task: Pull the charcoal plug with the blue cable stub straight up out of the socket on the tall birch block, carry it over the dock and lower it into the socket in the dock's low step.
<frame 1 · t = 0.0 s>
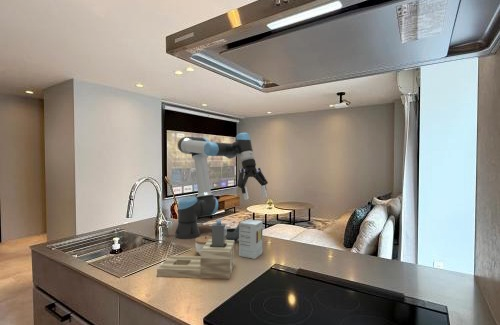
hand: (256, 198, 136), 28 cm above the worktop, tool tilted 20°, fingers open, 13 cm apart
plug: (218, 252, 111), point 8 cm above the worktop, touching dock
supplement box: (250, 255, 130), on the worktop
lidded jar: (205, 254, 131), on the worktop
dock: (197, 269, 112), on the worktop
mortar and pestle: (233, 242, 150), on the worktop
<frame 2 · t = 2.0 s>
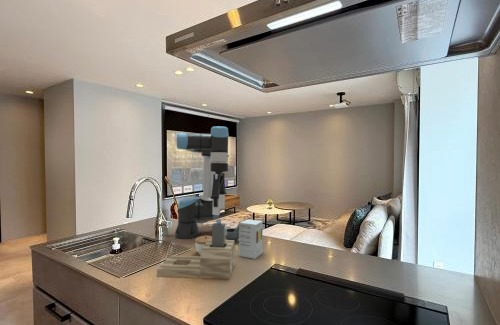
hand: (218, 211, 111), 26 cm above the worktop, tool pointing down, fingers open, 13 cm apart
nothing on the worktop moved.
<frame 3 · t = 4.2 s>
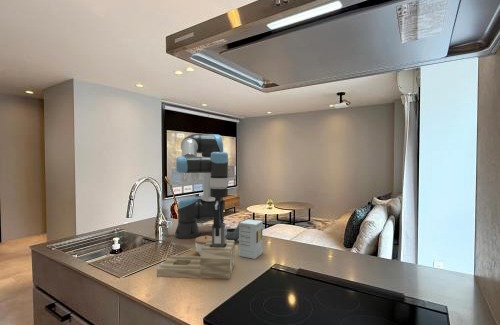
hand: (218, 241, 111), 13 cm above the worktop, tool pointing down, fingers closed on plug, 4 cm apart
plug: (218, 252, 111), point 8 cm above the worktop, touching dock, gripper
everything else where it was.
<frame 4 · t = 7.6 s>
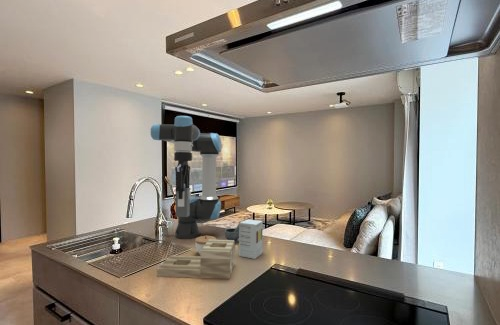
hand: (182, 205, 112), 28 cm above the worktop, tool pointing down, fingers closed on plug, 4 cm apart
plug: (182, 215, 112), point 23 cm above the worktop, touching gripper
everything else where it was.
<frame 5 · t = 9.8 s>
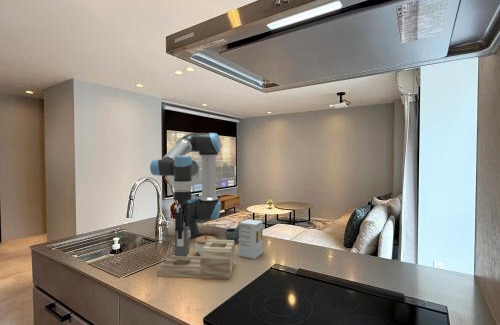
hand: (182, 244, 112), 11 cm above the worktop, tool pointing down, fingers closed on plug, 4 cm apart
plug: (182, 254, 112), point 6 cm above the worktop, touching gripper
everything else where it was.
when the fingers open (6 cm above the worktop, at t = 11.4 s): plug drops 1 cm, resting in dock.
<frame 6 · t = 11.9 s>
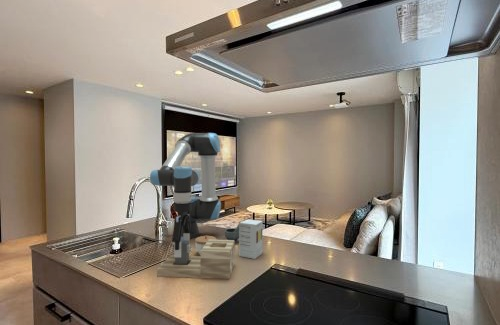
hand: (182, 252, 112), 7 cm above the worktop, tool pointing down, fingers open, 11 cm apart
plug: (182, 269, 112), resting in dock
everything else where it was.
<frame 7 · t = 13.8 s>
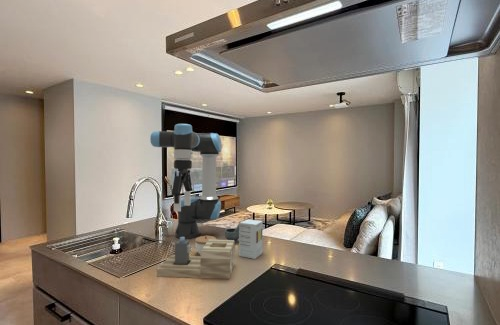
hand: (182, 208, 112), 27 cm above the worktop, tool pointing down, fingers open, 13 cm apart
nothing on the worktop moved.
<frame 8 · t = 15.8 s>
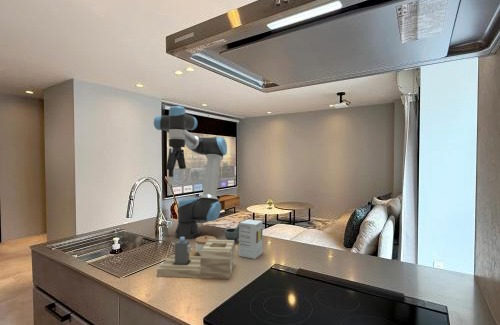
hand: (176, 182, 124), 37 cm above the worktop, tool pointing down, fingers open, 13 cm apart
nothing on the worktop moved.
at the end: plug 0.0 cm from the target spot on the dock, point 0.0 cm above the dock's base; plug tilted 0°; the gripper is holding nothing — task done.
